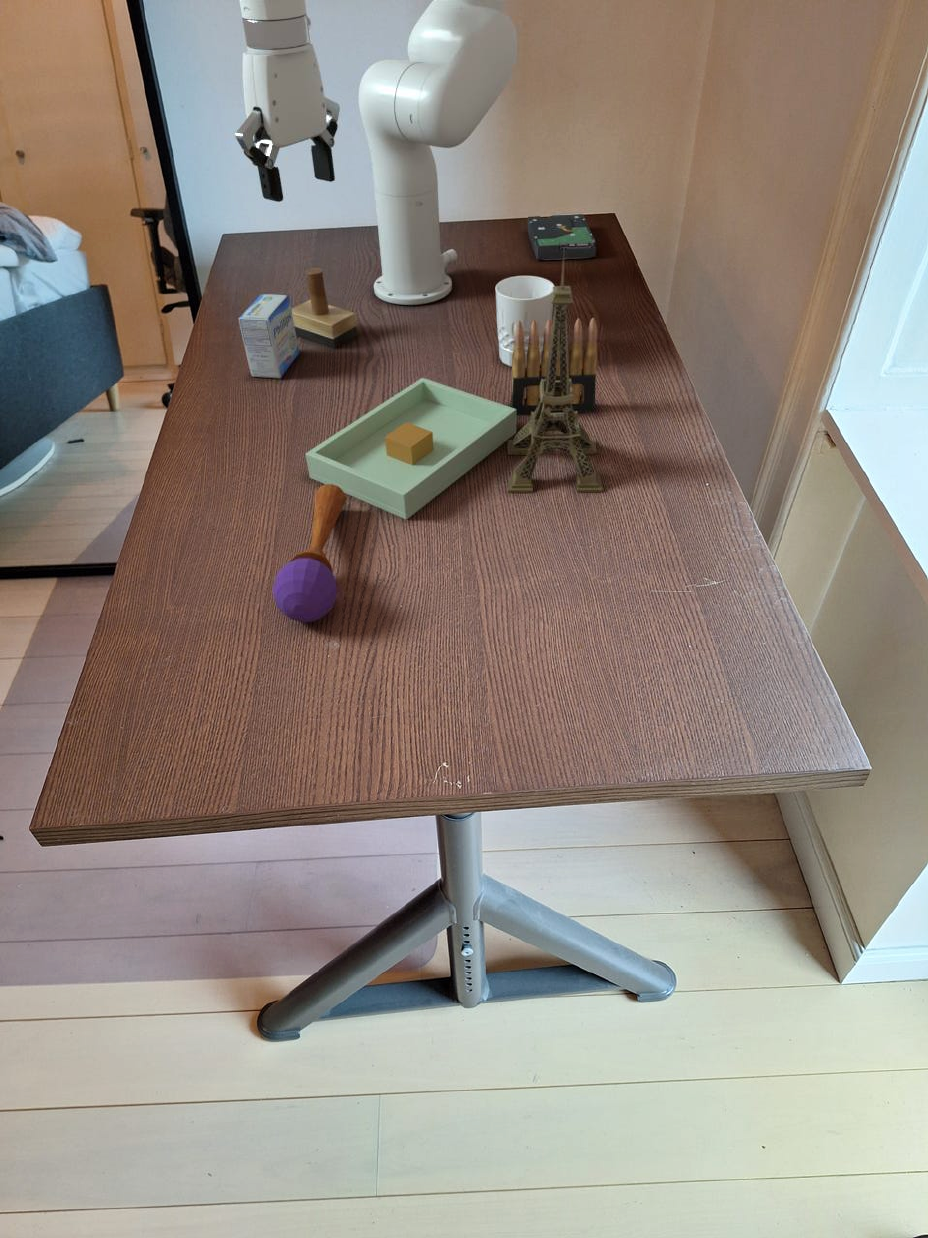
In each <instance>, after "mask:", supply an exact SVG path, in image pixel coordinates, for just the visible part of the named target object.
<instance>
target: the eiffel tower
mask: <svg viewBox="0 0 928 1238" xmlns="http://www.w3.org/2000/svg"><path fill="white" fill-rule="evenodd" d="M564 251H565V247H564ZM550 295H551V303H552V304H553V305H554V309H553V316H552V332H551V339H550V347H549V355H548V363H547V370H546V378H545V379H541V383H540V385H539V398H540V401H539V404H538V407H537V408H536V410H535V412H531V414H530V419H529V421H528V422H527V423H526V424H525V425H524V426H523V427H522V428H521V429H520V430H519V431H518V432H516V433H515V434H514V438H513V439H508V440H507V455H508V456H525V457H524V459H523V460H521V462H520V463H519V464H518V466H517V467H516V468H515V469H514V471H513V473H512V474H511V476H507V493H508V494H514V493H515V494H523V493H524V494H526V493H527V494H529V493H531V494H532V493H533V491H534V490H533V489H534V487H533V486H534V485H533V475H534V472H535V469H536V465H537V464H538V460H539V457H540V455H541V454H543V453H546V452H549V451H553V450H559V451H563V452H565V453H567V454H568V455H570V456H571V458H572V460H573V463H574V467H575V469H576V476H575V481H576V488H577V490H576V491H577V493H603V484H602V477H601V475H598V473H597V472H596V471H597V470H595V468H594V467H593V465H591V463H590V462H589V461H588V458H587V456H586V455H597V453H598V451H597V444H596V439H592V438H590V435H589V433H588V432H587V430H585V428H584V427H583V425H582V424H581V423H580V421H579V417H578V416H579V414H578V413H579V412H577V411H575V412H574V410H573V407H572V404H571V403H573V402H574V398H573V389H572V381H571V379H569V359H570V352H569V353H568V351H569V322H568V317H569V316H568V305H571V304H573V303H574V299H573V293H572V289H571V285H565V259H564V254H563V259H562V267H561V279H560V285H554V286H553V292H552V293H551V294H550ZM559 341H560V381H555V380H556V371H557V362H558V353H559ZM551 410H563V412H564V413H550V412H551ZM548 432H559V433H548Z"/></svg>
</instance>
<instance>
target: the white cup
mask: <svg viewBox="0 0 928 1238" xmlns="http://www.w3.org/2000/svg"><path fill="white" fill-rule="evenodd" d="M553 286H555V284H554V283H553V282H552V281H551V280H549V279H547V278H544V277H542V276H541V277H540V276H537V275H516V276H515V275H514V276H510V277H506V278H503V279H502V280H500V281H498V283H496V285H495V289H494V290H495V308H496V309H495V310H496V312H495V313H496V327H497V339H498V355H499V360H500V361H501V363H503V364H504V365H507V366H508V367H510V368H512V355H513V350H514V336H515V329H516V325H517V323H518V321H521V324H522V327H523V332H524V350H525V369H526V365H527V352H528V344H529V334H530V328H531V325H532V322H533V320H535V321H536V323H537V327H538V333H539V352H540V366H541V354H542V350H543V342H544V332H545V327H546V324H547V322H548V320H549V319H550V320H551V322H552V323H553V315H554V304H552V303H551V295H550V294H551V293H552V292H553Z"/></svg>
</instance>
